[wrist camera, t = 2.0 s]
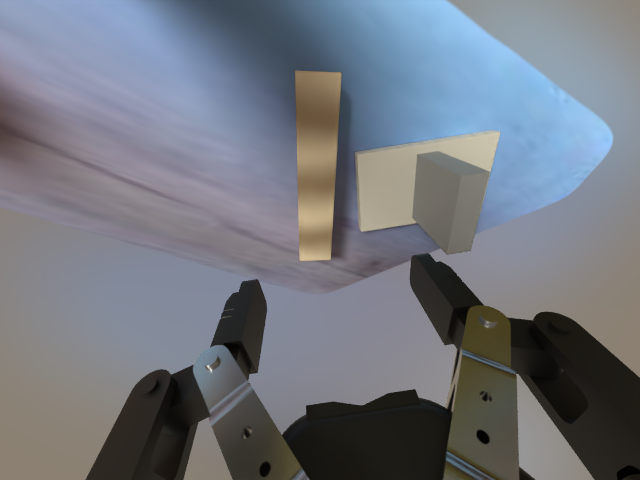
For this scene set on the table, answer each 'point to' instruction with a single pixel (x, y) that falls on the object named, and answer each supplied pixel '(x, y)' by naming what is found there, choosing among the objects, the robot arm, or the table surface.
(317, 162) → the rectangular block
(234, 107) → the table surface
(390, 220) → the stand
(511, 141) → the table surface
